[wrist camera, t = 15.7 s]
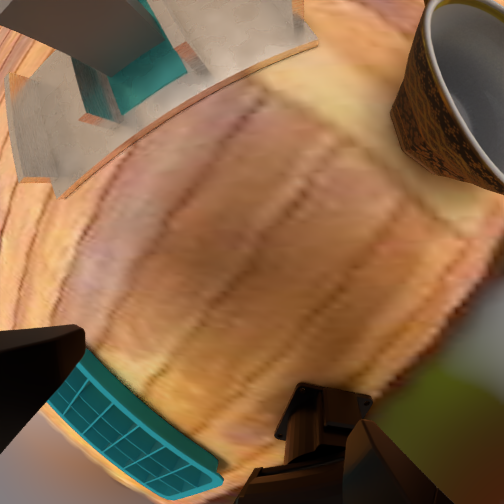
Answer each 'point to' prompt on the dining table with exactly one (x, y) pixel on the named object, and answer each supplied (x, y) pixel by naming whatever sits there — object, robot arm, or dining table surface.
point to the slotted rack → (142, 84)
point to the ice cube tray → (132, 433)
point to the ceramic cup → (456, 93)
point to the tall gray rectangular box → (86, 29)
